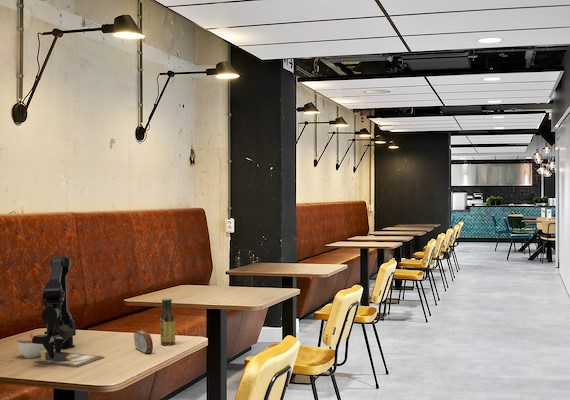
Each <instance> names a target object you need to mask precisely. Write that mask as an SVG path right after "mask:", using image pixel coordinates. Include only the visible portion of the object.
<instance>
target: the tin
mask: <svg viewBox="0 0 570 400" xmlns="http://www.w3.org/2000/svg"><path fill="white" fill-rule="evenodd" d="M133 339H134V346H135V348H136V349H137V351H139V352H141V353H142V354H151V353H152V352H153V350H154V343H153V338H152V336H151V334H150V333H149V332H147V331H145V330H143V329H139V330H137V331H135V332H134V333H133Z"/></svg>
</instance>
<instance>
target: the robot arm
mask: <svg viewBox="0 0 570 400" xmlns="http://www.w3.org/2000/svg"><path fill="white" fill-rule="evenodd" d="M48 261H49V262H48V266H49V268H50V273H49V279H48V282H47V283H45V285H44V287H43V288H44V289H43V290H42V293H41V303H40V304H41V306H44V307H45V309H44V310H43V311H42V313H41V318H42V320H43V324H44V325H46V330H45V331H44V333H43V334H35V335H36V336H33V338H32V343H34V344H43V346H44V349H45V350H47V352H48V354H49V356H50V358H53V357H54V351H57V352H62V350H66V349H70V348H73V347H75V346H76V345H75V344H74V340H73V339H74V336H76V334H77V333H76V332H77V331H76V330H77V328H76V327H77V326H76V324H75V321H74V319H73V316H72V314H71V312H70V311H69V308H68V288H67V287H68V285H67V275H68V273H69V272H70V270H71V267H72V259H71V257H69V256H68V255H66V256H65V255H63V256H52V257H50V258H49V259H48Z"/></svg>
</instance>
